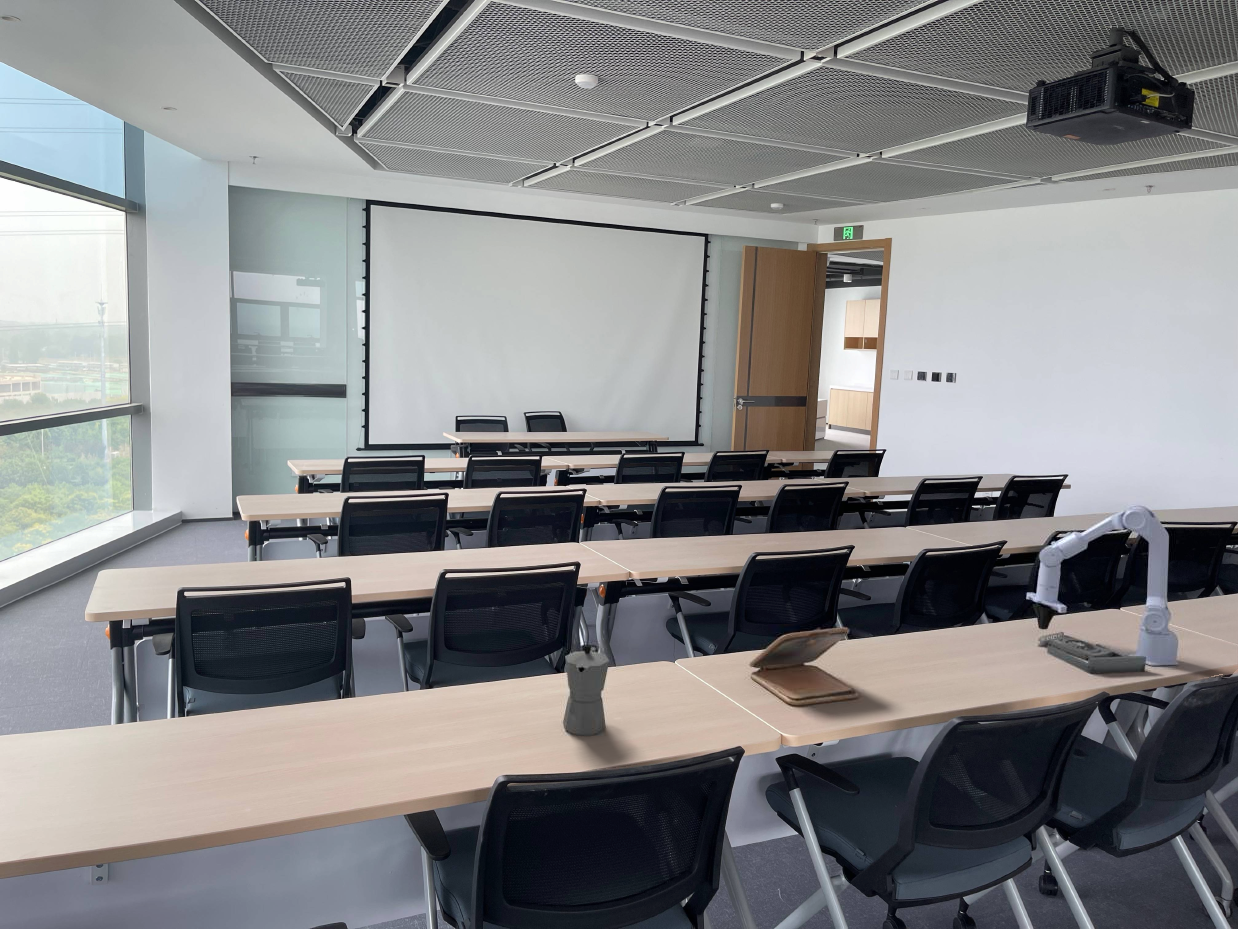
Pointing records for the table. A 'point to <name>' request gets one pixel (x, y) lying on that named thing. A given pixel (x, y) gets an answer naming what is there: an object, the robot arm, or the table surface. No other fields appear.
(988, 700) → the table surface
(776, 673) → the case
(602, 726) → the coffeepot
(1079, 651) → the graphics card
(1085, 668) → the mounting bracket
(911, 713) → the table surface
